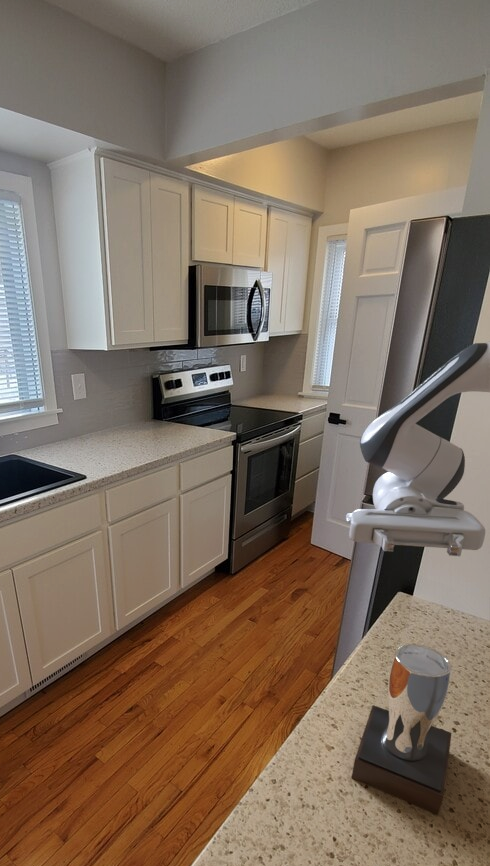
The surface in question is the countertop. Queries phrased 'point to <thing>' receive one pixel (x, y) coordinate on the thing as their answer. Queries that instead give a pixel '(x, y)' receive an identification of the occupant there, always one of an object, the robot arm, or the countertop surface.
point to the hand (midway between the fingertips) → (422, 549)
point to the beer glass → (414, 699)
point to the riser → (403, 765)
